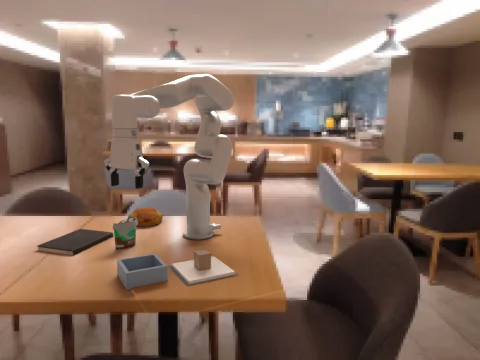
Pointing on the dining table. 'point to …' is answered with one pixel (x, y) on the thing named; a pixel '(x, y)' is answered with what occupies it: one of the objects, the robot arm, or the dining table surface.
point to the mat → (198, 282)
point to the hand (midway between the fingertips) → (127, 186)
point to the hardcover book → (75, 241)
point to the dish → (141, 270)
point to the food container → (125, 233)
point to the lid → (202, 268)
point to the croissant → (147, 216)
